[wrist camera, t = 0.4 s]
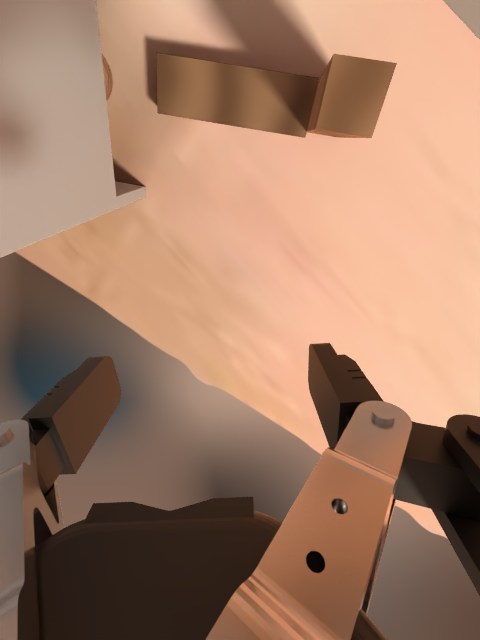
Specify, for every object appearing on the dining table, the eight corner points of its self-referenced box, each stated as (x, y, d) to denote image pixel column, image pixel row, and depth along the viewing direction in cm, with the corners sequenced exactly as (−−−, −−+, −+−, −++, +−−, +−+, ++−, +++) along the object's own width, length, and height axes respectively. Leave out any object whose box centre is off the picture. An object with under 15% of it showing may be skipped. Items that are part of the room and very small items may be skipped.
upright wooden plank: (352, 88, 27) (400, 50, 15) (337, 142, 29) (368, 147, 18) (165, 58, 28) (76, 2, 16) (166, 114, 30) (89, 101, 19)
